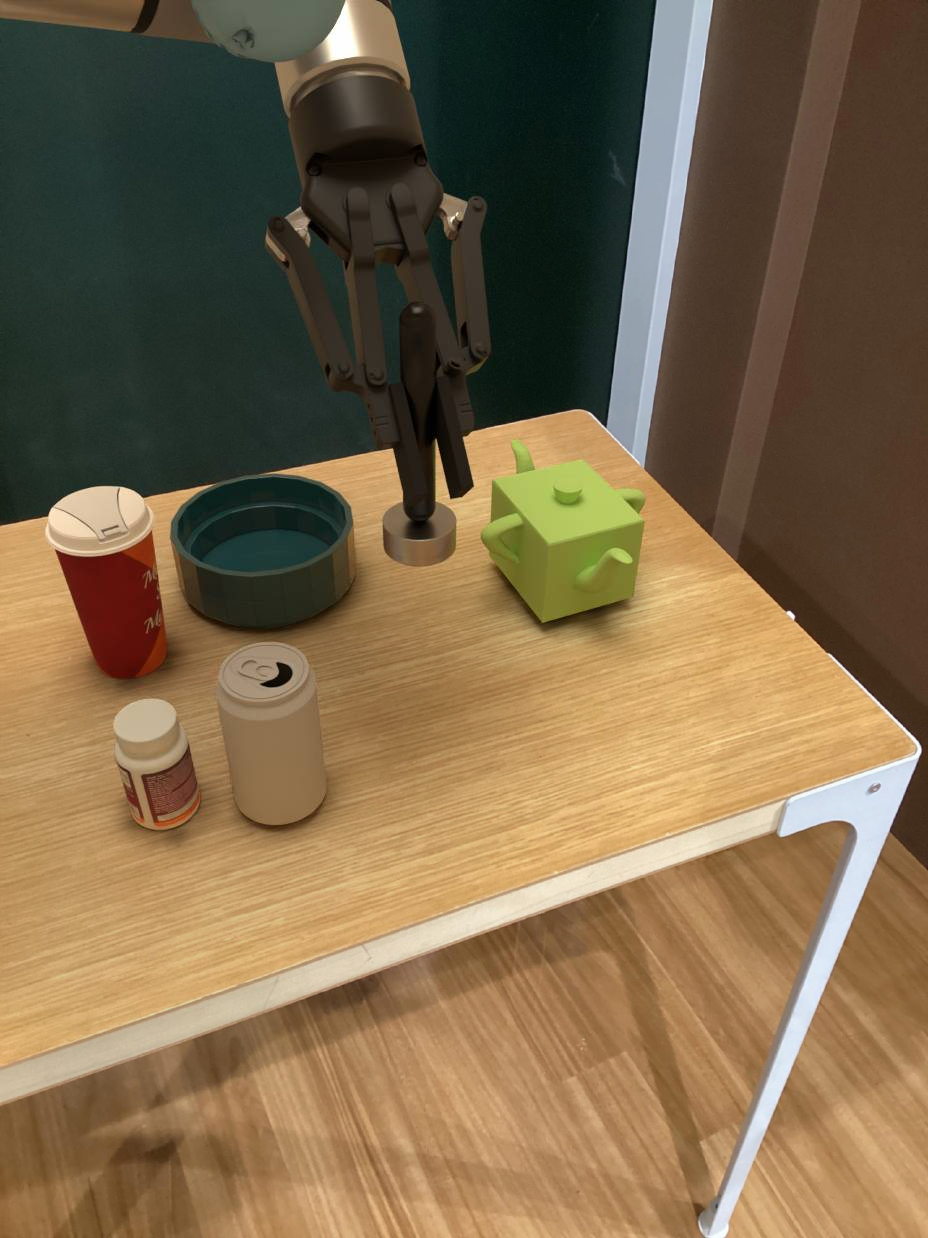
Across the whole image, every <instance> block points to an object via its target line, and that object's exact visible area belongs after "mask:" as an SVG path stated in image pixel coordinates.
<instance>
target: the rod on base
mask: <svg viewBox="0 0 928 1238" xmlns="http://www.w3.org/2000/svg"><path fill="white" fill-rule="evenodd" d="M398 334H399V335H398V336H399V341H398V342H399V378H400V379H399V381H400V382H399V383H401V382H403V384H404V389H405V393H406V397H407V402H408V406H409V410H410V415H411V419H412V423H413V428H414V432H415V437H416V441H417V445H418V450H419V454H420V458H421V463H422V467H423V471H424V476H425V480H426V484H427V489H428V493H429V495H428V496H427V497H426V498H425V499H424V500H423V501H422V502H421V503H420V504H419V505H416V506H411V507H406V504H405V500H404V495H403V494H402V501H400V502H397V503H396V504H394V505H392V506H390V507H389V508H388V509H386V511H385V512H384V514H383V516H382V519H381V521H382V546H383V547H382V548H383V551H384V553H385V554H386V555H387V557H389V558H390V559H391V560H392V561H394V562H396V563H398V564H401V565H403V566H408V567H416V568H417V567H418V568H421V567H423V568H424V567H431V566H435V565H438V564H441V563H444V562H445V561H447V560H448V559H450V558H451V557H452V555H453V554H454V553H455V551H456V548H457V516H456V514H455V512H454V511H453V510H452V509H451V508H450V507H449V506H447V505H446V504H443V503H442V502H438V501H436V500H437V499H436V497H437V495H436V492H437V491H436V490H437V489H436V487H437V485H436V483H437V480H436V479H437V477H436V474H437V470H436V468H437V462H436V461H437V459H436V458H437V454H436V453H437V452H436V451H437V449H436V448H437V445H436V444H437V440H436V318H435V314H434V312H433V310H432V308H431V307H430V306H428V305H427V304H425V303H423V302H412V303H409V302H408V304H406V305H405V306H404V307H403V308H402V309H401V311H400V314H399V317H398Z"/></svg>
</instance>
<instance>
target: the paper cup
mask: <svg viewBox="0 0 928 1238" xmlns="http://www.w3.org/2000/svg"><path fill="white" fill-rule="evenodd" d="M155 517H156V516H155V514H154V511H153V510H152V508H150V506H149V505H148V504H147V502H146V501H145V499H144V498H143V497H142V496H141V495H140V494H139V493H138V492H136V490H132V489H130V488H127V487H123V486H114V485H100V486H92V487H88V488H84V489H80V490H77V491H74V492H73V493H69V494H67V495H66V496H64V497H62V498H61V499H60V500H59V501H57V502H56V503H55V504H54V505H53V506H52V507H51V508H50V511H49V513H48V518H47V524H46V527H45V531H44V533H45V534H44V535H45V539H46V541H47V543H48V544H49V545H50V546H51V547H52V548H53V549H54V551H55V554H56V557H57V559H58V563H59V565H60V567H61V571H62V573H63V577H64V579H65V582H66V585H67V588H68V591H69V593H70V596H71V599H72V602H73V605H74V608H75V611H76V613H77V617H78V618H79V621H80V622H79V623H80V624H81V628H82V630H83V633H84V635H85V638H86V640H87V644H88V646H89V649H90V652H91V654H92V656H93V657H92V658H93V659H94V661H95V664H96V666H97V668H98V669H99V671H101V673H103V674H104V675H106V676H108V677H110V678H114V679H119V680H126V679H127V680H129V679H137V678H140V677H143V676H145V675H148V674H150V673H152V672H153V671H156V670H157V669H158V668H159V667H160V666H161V665H162V664H163V662H164V661H165V660H166V657H167V654H168V645H167V634H166V624H165V617H164V610H163V602H162V594H161V587H160V580H159V573H158V566H157V557H156V550H155V543H154V534H153V529H154V525H155V523H156V522H155V521H156V519H155Z"/></svg>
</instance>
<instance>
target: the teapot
mask: <svg viewBox="0 0 928 1238" xmlns="http://www.w3.org/2000/svg"><path fill="white" fill-rule="evenodd" d="M510 446H511V450H512V451H513V454H514V458H515V466H516V471H515V472H516V473H515V474H512V475H507V476H503V477H498V478H494V479H492V481H491V499H490V522H489V523H488V524H486V525H485V526H484V527H483V528H482V530H481V532H480V540H481V542H482V544H483V545H484V547H485V548H486V549H487V550H488V555H489V557H490V558H491V560H492V561H493V562H494V563H495V564H496V566H497V567H498V569H500V572H502V573H503V575H504V576H505V577H506V578H507V580H508V581H509V582H510V584H511V585H512V586H513V587H514V589H515V590H516V591H517V593H518V594H519V596H520V597H521V598H522V599H523V600H524V602H525V603H526V604H527V605H528V606H529V608H530V609H531V611H532V612H533V613H534V615H536V616H537V618H538V619H539V621H540V622H541V623H546V622H550V621H553V620H557V619H560V618H564V617H568V616H571V615H574V614H577V613H581V612H585V611H589V610H593V609H596V608H599V607H602V606H606V605H610V604H614V603H617V602H620V601H624V600H627V599H631V598H634V596H635V588H636V582H637V576H638V569H639V563H640V556H641V549H642V542H643V537H644V536H643V535H644V529H645V523H646V521H645V519H644V518H643V517H642V516H641V515H640V513H641V511H642V510H643V508H644V506H645V504H646V495H645V493H643V492H642V491H641V490H640V489H637V488H628V487H627V488H625V487H624V488H615V489H614V488H613V487H612V486H611V485H610V484H609V483H608V482H607V481H606V480H605V479H604V478H603V477H602V476H601V475H600V474H599V473H598V472H597V471H596V470H595V469H593V468H592V467H591V466H590V464H589V463H587V461H585V460H584V459H583V458H580V459H577V460H573V461H568V462H564V463H559V464H555V465H550V466H546V467H541V468H535V465H534V461H533V459H532V456H531V453H530V451H529V449H528V447H527V446H526V445H525V444H524V442H522V441H521V440H519V439H511V440H510Z"/></svg>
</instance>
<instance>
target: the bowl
mask: <svg viewBox="0 0 928 1238" xmlns="http://www.w3.org/2000/svg"><path fill="white" fill-rule="evenodd" d="M169 529H170V530H169V533H170V534H169V540H170V545H171V550H172V554H173V555H172V556H173V560H174V565H175V571H176V575H177V581H178V586H179V589H180V591H181V592H182V595H183V596H184V598H185V600H186V602H187V603H188V604H190V605H191V606H192V607H193V608H195V609H196V610H197V611H198V612H200V613H201V614H202V615H203V616H206V617H209V618H211V619H214V620H217V621H219V622H221V623H225V624H229V625H232V626H237V627H241V628H242V627H243V628H249V629H250V628H251V629H252V628H253V629H258V628H259V629H265V628H277V627H285V626H288V625H292V624H296V623H300V622H302V621H305V620H308V619H310V618H312V617H315V616H317V615H319V614H320V613H322V612H323V611H325V610H327V609H328V608H329V607H332V606H333V605H335V604H336V603H337V602H338V601H339V600H340V599H341V598H342V597H343V596H344V595H345V594H346V593H347V592H348V590H349V589H350V588H351V587H352V583H353V581H354V578H355V576H356V573H357V557H356V543H355V542H356V540H355V539H356V538H355V524H354V517H353V511H352V506H351V505H350V504H349V502H348V501H347V500H346V499H345V498H344V496H343V495H342V494H341V492H339V491H337V490H336V489H334V488H332V487H330V486H329V485H327V484H325V483H324V482H322V481H318V480H315V479H313V478H308V477H305V476H301V475H297V474H295V475H294V474H284V473H275V472H274V473H261V474H247V475H242V476H239V477H238V476H237V477H235V478H231V479H226V480H222V481H219V482H217V483H214V484H213V485H212V484H211V486H208V487H206V488H203V489H202V490H199V491H197V492H196V493H195V494H194V495H192V496H191V497H190V498H188V499H187V500H186V501H184V503H182V504H181V505H180V506H179V508H178V510H177V511H176V512H175V514H174V516H173V517H172V519H171V521H170V528H169Z"/></svg>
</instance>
